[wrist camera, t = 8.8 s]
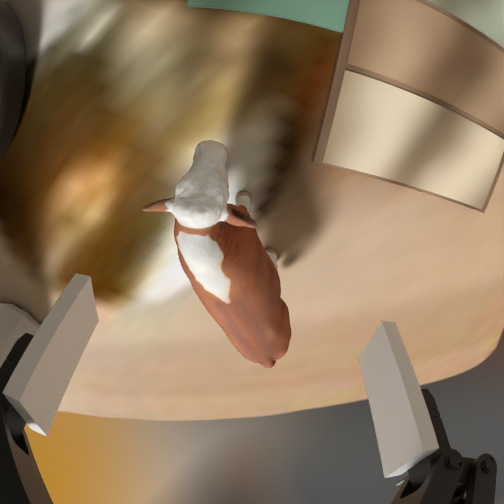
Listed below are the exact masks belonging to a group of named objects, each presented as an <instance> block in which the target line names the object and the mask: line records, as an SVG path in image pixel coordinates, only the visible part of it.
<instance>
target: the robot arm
mask: <svg viewBox="0 0 504 504" xmlns="http://www.w3.org/2000/svg"><path fill="white" fill-rule="evenodd" d="M25 72H26V60H25V46H24V40H23V35H22V31H21V27H20V24H19V21H18V19H17V17H16V15H15V13H14V12H13V10H12V9H11V8H10V7H9V5H8V4H6V3H5V2H4V1H2V0H0V160H1V159H2V157H3V156H4V154H5V152H6V151H7V149H8V147H9V145H10V142H11V140H12V138H13V135H14V133H15V130H16V127H17V123H18V120H19V116H20V112H21V107H22V102H23V95H24V87H25ZM98 321H99V320H98V315H97V310H96V305H95V300H94V295H93V289H92V283H91V277H90V276H86V275H82V274H77V273H76V274H75V275H74V277H73V278H72V280H71V281H70V282H69V284H68V285H67V287H66V288H65V289H64V291H63V292H62V294H61V295H60V297H59V298H58V300H57V301H56V303H55V304H54V306H53V307H52V309H51V310H50V312H49V313H48V315H47V316H46V318H45V319H44V321H43V323H42V324H41V326H40V327H39V329H38V331H37V332H36V334H35V335H31V334H29V333H25V334H24V335H23V336H21V337H20V338H19V339H18V340H17V341H16V342H15V344H14V346H13V347H12V349H11V352H9V354H8V355H7V357H6V359H5V361H4V362H3V364H2V366H1V368H0V504H53V502H52V500H51V498H50V495H49V493H48V491H47V489H46V486H45V484H44V482H43V479H42V477H41V474H40V472H39V469H38V467H37V464H36V461H35V459H34V456H33V453H32V450H31V447H30V444H29V441H28V438H27V435H26V432H25V430H24V427H25V424H26V423H27V425H28V426H29V427H30V428H31V429H32V430H34V431H36V432H39V433H41V434H43V435H45V436H47V435H48V433H49V430H50V428H51V425H52V422H53V420H54V417H55V415H56V412H57V410H58V407H59V405H60V403H61V400H62V398H63V396H64V393H65V391H66V389H67V386H68V384H69V382H70V379H71V377H72V375H73V373H74V371H75V368H76V366H77V364H78V362H79V360H80V358H81V355H82V353H83V351H84V349H85V347H86V345H87V343H88V341H89V339H90V337H91V335H92V333H93V331H94V329H95V327H96V325H97V323H98ZM359 362H360V366H361V370H362V374H363V378H364V382H365V386H366V390H367V394H368V399H369V403H370V407H371V412H372V416H373V421H374V426H375V430H376V435H377V440H378V445H379V450H380V455H381V461H382V465H383V472H384V477H385V478H386V477H392V476H398V475H401V474H402V473H404V472H405V471H407V470H408V473H409V475H408V476H407V477H405V478H403V479H402V480H400V481H399V482H397V484H396V486H398V485H400V484H401V483H403V484H402V486H401V487H400V489H399V491H398V493H397V495H396V496H395V498H394V500H393V501H392V503H391V504H494V497H495V486H496V473H497V465H496V462H495V459H494V458H493V457H492V456H491V455H489V454H482V455H481V456H479V457H478V458H476V459H473V458H464V457H462V456H461V454H460V453H459V452H458V451H457V450H454V449H451V447H450V445H449V442H448V438H447V435H446V432H445V429H444V426H443V423H442V420H441V418H440V414H439V411H438V410H437V405H436V402H435V399H434V397H433V396H432V395H431V393H430V392H429V390H428V389H420V386H419V383H418V380H417V377H416V375H415V372H414V369H413V366H412V364H411V361H410V358H409V356H408V353H407V351H406V348H405V346H404V343H403V341H402V338H401V336H400V333H399V331H398V328H397V326H396V323H395V322H387V321H381V323H380V324H379V326H378V328H377V330H376V331H375V333H374V335H373V336H372V338H371V340H370V341H369V343H368V345H367V346H366V348H365V350H364V351H363V353H362V354H361V356H360V358H359ZM465 493H466V498H464V494H465Z"/></svg>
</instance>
